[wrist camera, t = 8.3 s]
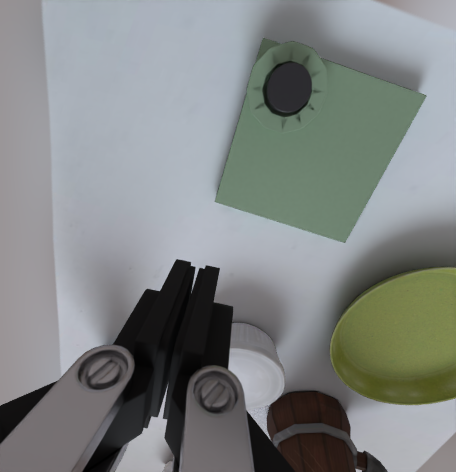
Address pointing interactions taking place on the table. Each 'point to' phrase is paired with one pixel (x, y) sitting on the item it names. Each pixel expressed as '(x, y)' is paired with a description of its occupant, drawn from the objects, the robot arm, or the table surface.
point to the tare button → (289, 87)
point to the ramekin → (255, 365)
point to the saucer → (400, 339)
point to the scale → (314, 144)
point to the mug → (316, 435)
